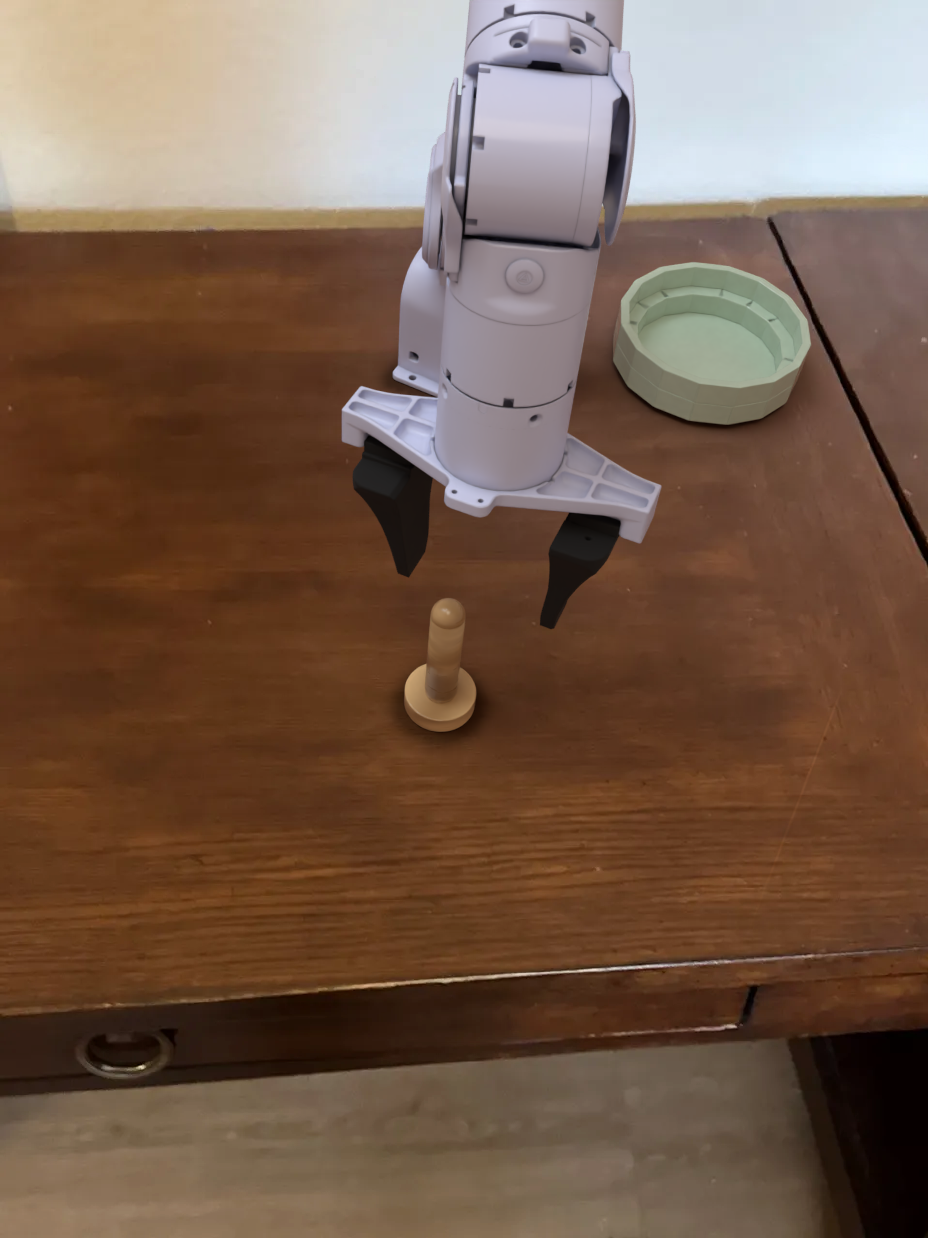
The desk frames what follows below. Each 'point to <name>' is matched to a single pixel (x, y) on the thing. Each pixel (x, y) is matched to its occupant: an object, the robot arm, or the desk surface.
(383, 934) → the desk surface
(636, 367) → the bowl
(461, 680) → the wooden stamp
